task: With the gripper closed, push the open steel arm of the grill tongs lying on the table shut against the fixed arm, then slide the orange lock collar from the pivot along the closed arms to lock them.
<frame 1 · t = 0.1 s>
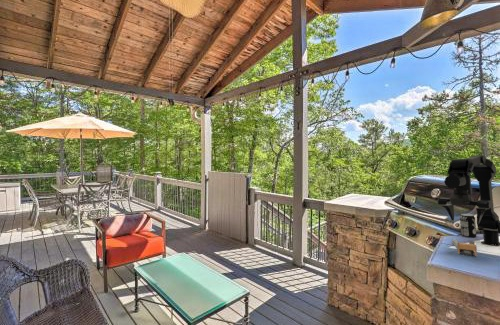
hand: (465, 222, 118), 15 cm above the outdoor kitchen counter, tool pointing down, fingers open, 9 cm apart
beverage can: (468, 236, 146), on the outdoor kitchen counter
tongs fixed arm: (467, 254, 118), on the outdoor kitchen counter
lock collar: (467, 249, 118), point 2 cm above the outdoor kitchen counter, slide at 0.0 cm
tongs free arm: (458, 245, 128), point 1 cm above the outdoor kitchen counter, hinge at 15.0°
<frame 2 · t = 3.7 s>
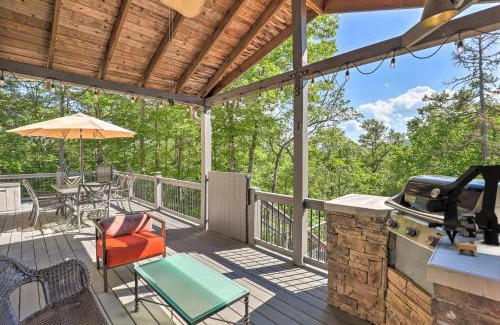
hand: (452, 243, 132), 1 cm above the outdoor kitchen counter, tool pointing down, fingers closed
tongs free arm: (458, 245, 128), point 1 cm above the outdoor kitchen counter, hinge at 14.3°, touching gripper
everything else where it was.
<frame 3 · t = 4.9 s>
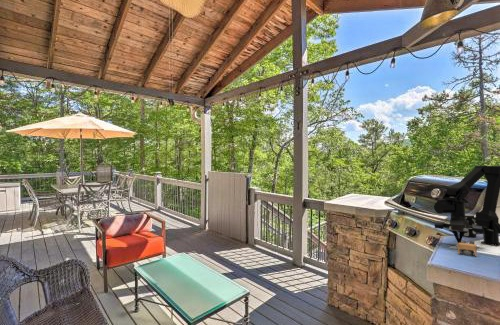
hand: (459, 244, 130), 1 cm above the outdoor kitchen counter, tool pointing down, fingers closed
tongs free arm: (463, 245, 127), point 1 cm above the outdoor kitchen counter, hinge at 3.4°, touching gripper
everything else where it was.
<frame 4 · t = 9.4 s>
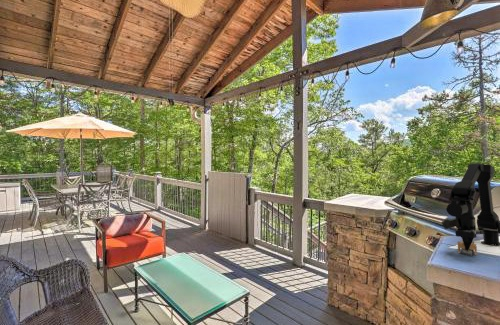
hand: (467, 249, 117), 3 cm above the outdoor kitchen counter, tool pointing down, fingers closed
lock collar: (467, 248, 119), point 2 cm above the outdoor kitchen counter, slide at 1.5 cm, touching gripper
tongs free arm: (463, 245, 127), point 1 cm above the outdoor kitchen counter, hinge at 3.4°
everything else where it was.
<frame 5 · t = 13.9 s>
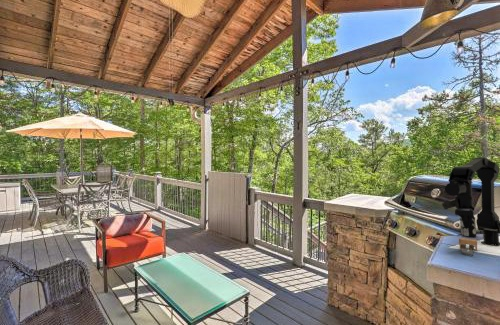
hand: (466, 228, 121), 11 cm above the outdoor kitchen counter, tool pointing down, fingers closed
lock collar: (468, 244, 125), point 2 cm above the outdoor kitchen counter, slide at 9.5 cm, touching tongs free arm
tongs free arm: (463, 245, 127), point 1 cm above the outdoor kitchen counter, hinge at 3.3°, touching lock collar
everything else where it was.
at the end: tongs free arm at +3° (first picture: +15°); lock collar slide at 9.5 cm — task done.
